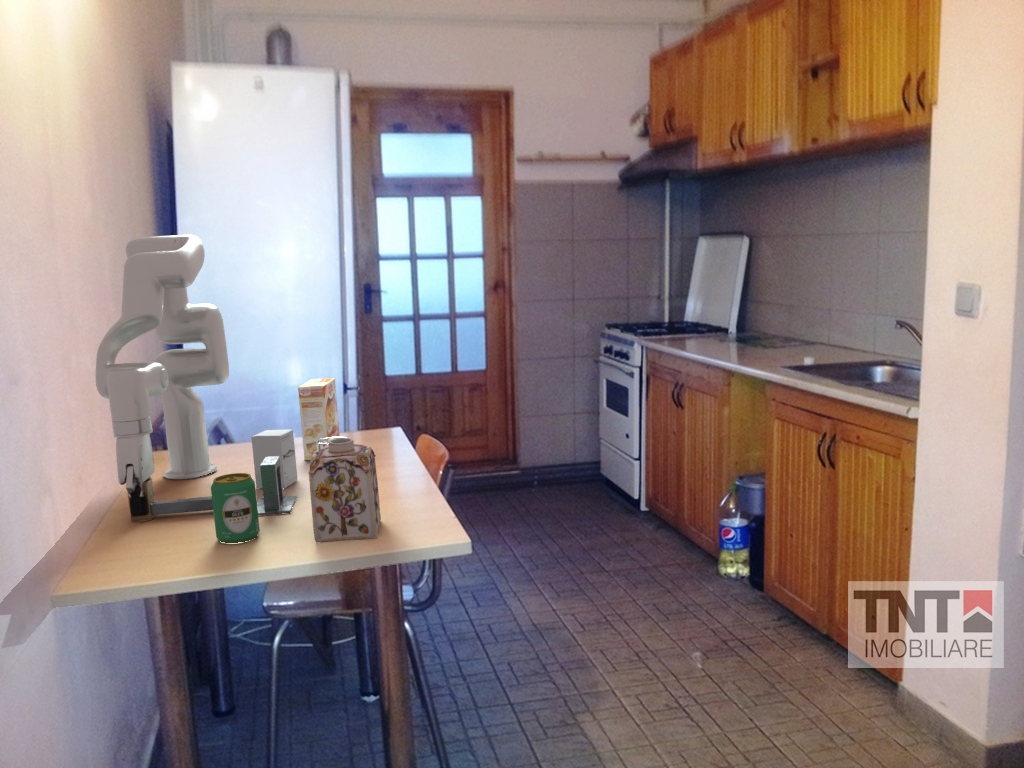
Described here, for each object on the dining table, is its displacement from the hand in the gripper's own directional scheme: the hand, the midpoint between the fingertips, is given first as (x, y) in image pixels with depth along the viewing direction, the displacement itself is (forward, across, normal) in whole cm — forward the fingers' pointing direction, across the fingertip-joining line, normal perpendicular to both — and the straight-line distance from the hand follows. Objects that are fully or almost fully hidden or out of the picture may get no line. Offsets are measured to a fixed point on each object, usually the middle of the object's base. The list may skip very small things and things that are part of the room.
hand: (143, 511), depth 187 cm
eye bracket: (+1, 0, +27) cm, 27 cm away
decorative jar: (+2, +22, +44) cm, 49 cm away
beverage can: (+2, +20, +23) cm, 31 cm away
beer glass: (+2, +7, +41) cm, 42 cm away
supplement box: (+2, -19, +25) cm, 31 cm away
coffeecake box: (+2, -49, +33) cm, 59 cm away
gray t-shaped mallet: (+1, 0, +10) cm, 10 cm away
